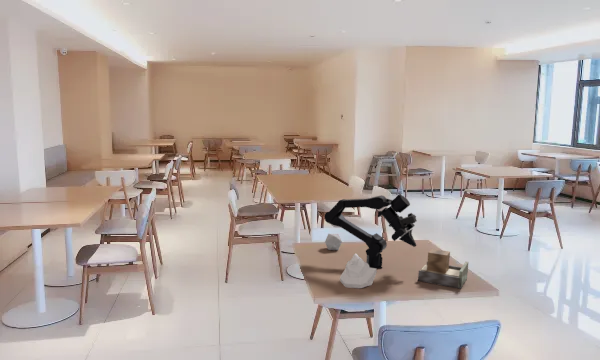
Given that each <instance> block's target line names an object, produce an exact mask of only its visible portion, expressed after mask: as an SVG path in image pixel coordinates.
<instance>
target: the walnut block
mask: <svg viewBox="0 0 600 360" xmlns="http://www.w3.org/2000/svg"><path fill="white" fill-rule="evenodd" d="M450 257H451V251H448V250H443V249H435V248H431V249H430V250H429V251H428V252H427V261H426V265H427V270H429V271H435V272H440V273H446V272H447V271H448V269H449V265H450Z"/></svg>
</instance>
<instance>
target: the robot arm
mask: <svg viewBox="0 0 600 360" xmlns="http://www.w3.org/2000/svg"><path fill="white" fill-rule="evenodd" d="M409 206H411V203H410V201H409V200H408V198H406V197H405V196H404V195H402V194H401V193H398V194H397V195H396V196H395V198H393V199H389V198H386V196H384V195H376V196H373V197H370V198H369V197H368V198H355V199H354V198H350V199H349V198H348V199H345V198H343V199H339V200H338V201H337V203H336V204H335V205H334V206H333V207H332V208H331V209H330V210H329V211H327V212H325V214H324V221H325V222H326V223H327V224H330V225H332V226H335V227H339V228H341V229H342V230H344V231H346V232H348V233H349V234H351V236H354V237H355V238H357V239H359V240H360V241H362V242H363V243H364V244H366V246H367V249H366V250H365V254H366V260H365V262H366V263H368V264H369V267H370V268H376V269H383V257H382V255H383V254H382V252H383V251H384V250H385V249H386V248H387V245H388V244H387V240H386V239H385V237H384V236H381V235H380V234H379V233H377V232H376V233H374V234H370V233H369V232H367V231H366V230H364V229H363V228H360V227H359V226H357V225H356V224H354V223H352V222H351V221H350V220H348V219H346V217H345V215H343V212H344V210H345V209H347V208H348V209H349V208H351V209H352V208H353V209H354V208H368V209H372V210H378V211H377V218H380V217H383V218H384V219H385V221H386V222H387V223H388V227H389V228H390V227H391V228H392V230H393V231H394V233H393V234H391V239H392V241H394V242H395V241H397V240H400V241H401V242H403V243H406V244H408V245H410V246H411V247H413V248H416V246H417V244H416V241H415V239H414V237H413V234H412V233H413V228H414V227H415V223H416V222H417V216H416V214H414V213H412V212H410V213H408V214H407V216H405V217H403V216H402V215H401V216H400V215H399V214H398V213H402V212H403V211H406V209H407V208H408V207H409Z"/></svg>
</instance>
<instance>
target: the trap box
mask: <svg viewBox="0 0 600 360" xmlns="http://www.w3.org/2000/svg"><path fill="white" fill-rule="evenodd" d="M468 270H469V261H465V262H464V264H462V266H456V265H450V264H449V269H448V271H447V272H446V273H440V272H435V271H429V270H427V264H424V265H423V267H422V268H421V269H420V270H418V273H417V274H418V276H417V281H418V282H423V283H428V284H434V285H438V286H443V287H444V286H445V287H448V288H453V289H454V288H455V289H459V290H461V289H462V288H463V286H464V285H465V283H466V281H467V279H468V272H469V271H468Z"/></svg>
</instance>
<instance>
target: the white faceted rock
mask: <svg viewBox="0 0 600 360" xmlns="http://www.w3.org/2000/svg"><path fill="white" fill-rule="evenodd" d="M377 270H378V268H370V267H369V264H368V263H366V261H364V259H363V258H361V257H360V256H359V255H358V253H354V254H352V256H351V259H350V260H348V261H347V263H346V264H345V269H344V270H343V271H342V273H341V274H340V276H339V281H340V283H341V284H342V285H343V286H344V287H345V288H350V289H363V288H366V287H368V286H369V287H370V286H372V285H373V282H374V280H375V278H376V275H377V272H378V271H377Z"/></svg>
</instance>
